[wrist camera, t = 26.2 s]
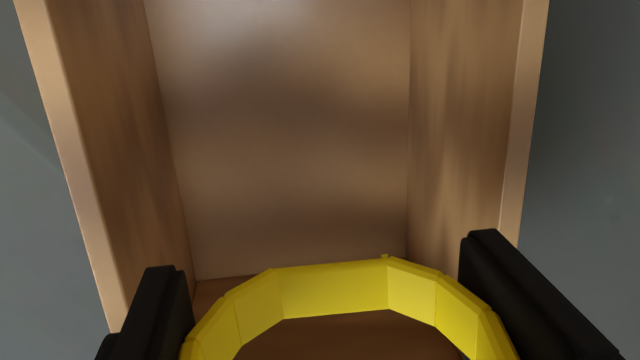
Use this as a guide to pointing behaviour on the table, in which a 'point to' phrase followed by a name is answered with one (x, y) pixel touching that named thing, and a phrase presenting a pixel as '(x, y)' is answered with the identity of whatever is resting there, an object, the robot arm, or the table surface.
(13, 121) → the table surface
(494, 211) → the chest
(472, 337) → the watch
